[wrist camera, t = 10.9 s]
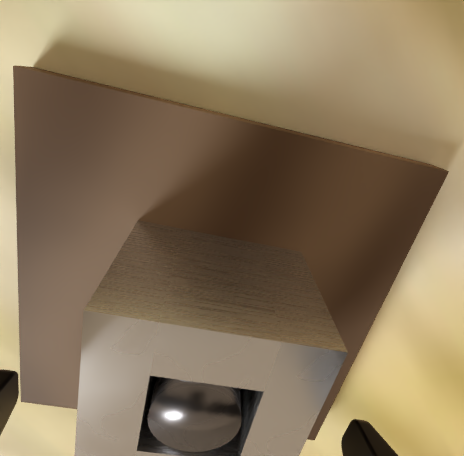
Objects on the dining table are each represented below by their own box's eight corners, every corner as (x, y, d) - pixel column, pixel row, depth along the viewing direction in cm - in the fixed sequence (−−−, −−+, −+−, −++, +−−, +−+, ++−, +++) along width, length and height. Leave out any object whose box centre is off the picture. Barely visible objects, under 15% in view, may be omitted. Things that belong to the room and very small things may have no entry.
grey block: (301, 252, 12) (347, 352, 8) (259, 370, 15) (277, 501, 10) (137, 220, 12) (83, 310, 7) (122, 349, 14) (73, 480, 9)
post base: (431, 164, 12) (604, 233, 7) (309, 421, 18) (349, 575, 12) (31, 67, 11) (-176, 52, 5) (32, 383, 16) (-68, 542, 10)
